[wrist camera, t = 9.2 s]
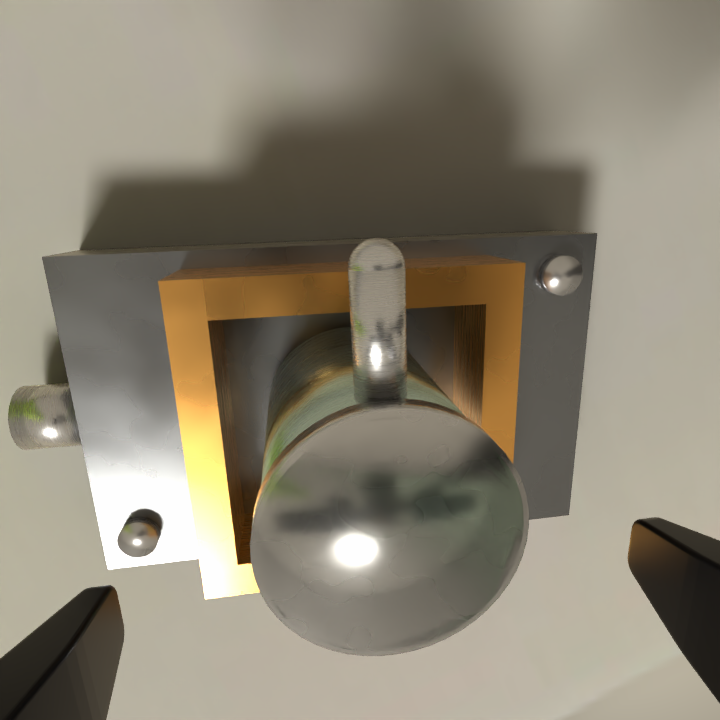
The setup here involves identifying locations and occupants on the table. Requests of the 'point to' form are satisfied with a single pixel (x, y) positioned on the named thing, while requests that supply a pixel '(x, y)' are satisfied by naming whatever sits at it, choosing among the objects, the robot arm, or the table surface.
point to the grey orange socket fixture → (263, 358)
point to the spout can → (379, 486)
